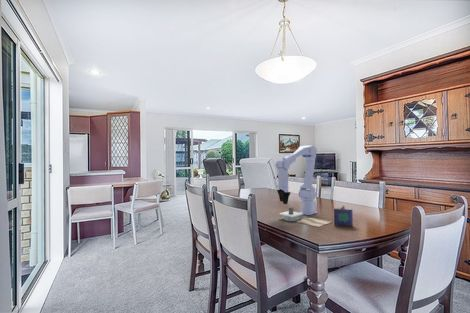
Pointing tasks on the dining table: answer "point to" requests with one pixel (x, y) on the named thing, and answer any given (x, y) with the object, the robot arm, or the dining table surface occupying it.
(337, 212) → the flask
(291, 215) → the cover
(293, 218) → the bowl
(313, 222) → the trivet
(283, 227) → the dining table surface
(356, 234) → the dining table surface
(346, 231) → the dining table surface
